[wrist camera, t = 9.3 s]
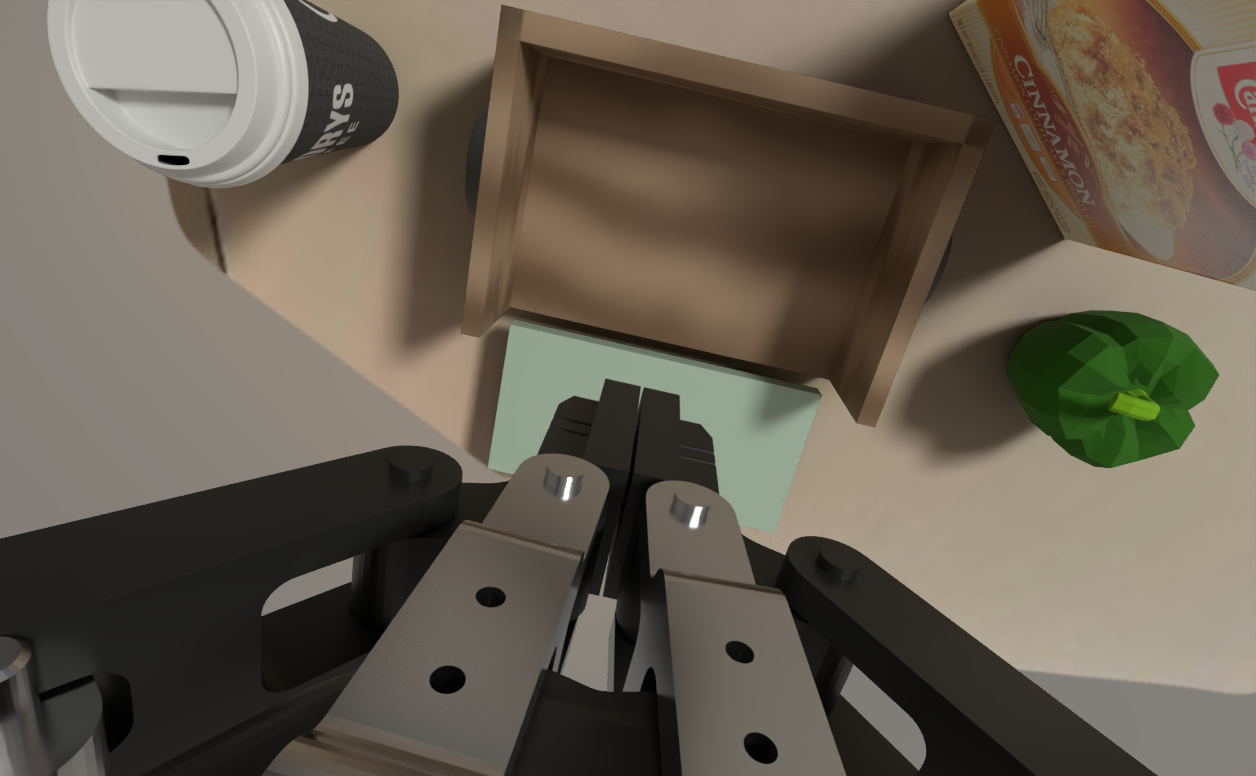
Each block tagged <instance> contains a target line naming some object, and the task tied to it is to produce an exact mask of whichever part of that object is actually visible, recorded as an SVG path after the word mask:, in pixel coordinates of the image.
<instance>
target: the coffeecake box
mask: <svg viewBox="0 0 1256 776" xmlns="http://www.w3.org/2000/svg"><path fill="white" fill-rule="evenodd" d="M949 17H950V19H951V21H952V23H953V25H954V27H955V29H956V31H957V32H958V34H959V36H960V38H961V40H962V42H963V44H964V46H965V48H966V50H967V52H968V54H969V56H970V58H971V60H972V62H973V64H974V66H975V68H976V70H977V72H978V74H979V76H980V77H981V79H982V81H983V83H984V85H985V87H986V89H987V91H988V93H989V95H990V97H991V99H992V101H993V103H994V104H995V106H996V108H997V110H998V112H999V114H1000V116H1001V118H1002V120H1003V122H1004V124H1005V126H1006V128H1007V130H1008V131H1009V133H1010V135H1011V137H1012V139H1013V141H1014V143H1015V145H1016V147H1017V149H1018V151H1019V152H1020V154H1021V156H1022V158H1023V160H1024V162H1025V164H1026V166H1027V168H1028V170H1029V171H1030V173H1031V175H1032V177H1033V179H1034V181H1035V183H1036V185H1037V187H1038V189H1039V191H1040V193H1041V195H1042V197H1043V199H1044V200H1045V202H1046V204H1047V206H1048V208H1049V210H1050V212H1051V214H1052V216H1053V217H1054V219H1055V221H1056V223H1057V225H1058V227H1059V229H1060V231H1061V233H1062V234H1063V236H1064V238H1065V239H1066V240H1072V241H1076V242H1079V243H1083V244H1086V245H1090V246H1094V247H1098V248H1101V249H1105V250H1109V251H1112V252H1116V253H1120V254H1124V255H1127V256H1131V257H1135V258H1138V259H1142V260H1145V261H1149V262H1152V263H1156V264H1160V265H1163V266H1167V267H1171V268H1174V269H1178V270H1182V271H1185V272H1189V273H1192V274H1196V275H1200V276H1203V277H1207V278H1211V279H1214V280H1218V281H1222V282H1226V283H1229V284H1233V285H1236V286H1240V287H1244V288H1247V289H1250V290H1254V291H1256V0H966V1H965V2H963V3H962V4H960V5H959V6H958V7H957V8H955V9H954V10H953V11H951V12H950V13H949Z"/></svg>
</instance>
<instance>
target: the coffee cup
mask: <svg viewBox="0 0 1256 776" xmlns="http://www.w3.org/2000/svg"><path fill="white" fill-rule="evenodd" d="M47 29H48V38H49V45H50V49H51V54H52V57H53V61H54V64H55V67H56V70H57V73H58V75H59V77H60V80H61V82H62V84H63V86H64V88H65V90H66V92H67V94H68V95H69V97H70V99H71V101H72V102H73V103H74V105H75V107H76V108H77V110H78V111H79V112H80V114H81V115H82V116H83V117H84V119H85V120H86V121H87V122H88V123H89V124H90V125H91V127H92V128H93V129H94V130H95V131H96V132H97V133H98V134H100V136H102V137H103V138H104V139H105V140H106V141H107V142H109V143H110V144H111V145H113V146H114V147H115V148H117V149H118V150H120V151H121V152H123V153H125V154H126V155H128V156H130V157H132V158H133V159H135V160H136V161H137V162H139V163H141V164H142V165H144V166H146V167H148V168H149V169H151V170H154V171H155V172H157V173H159V174H162V175H164V176H166V177H168V178H171V179H174V180H177V181H180V182H184V183H187V184H191V185H195V186H199V187H206V188H232V187H238V186H242V185H245V184H248V183H251V182H254V181H256V180H258V179H260V178H262V177H264V176H265V175H267V174H268V173H270V172H271V171H272V170H274V169H275V168H276V167H277V166H278V165H279V164H283V163H287V162H291V161H295V160H300V159H304V158H308V157H312V156H317V155H321V154H325V153H329V152H334V151H338V150H342V149H347V148H351V147H355V146H359V145H363V144H367V143H369V142H372V141H374V140H375V139H377V138H378V137H380V136H381V135H382V134H383V133H384V132H385V131H386V130H387V129H388V127H389V126H390V124H391V123H392V121H393V119H394V116H395V114H396V110H397V106H398V98H399V91H398V82H397V78H396V74H395V71H394V68H393V66H392V63H391V61H390V59H389V58H388V56H387V54H386V53H385V51H384V50H383V49H382V48H381V46H380V45H379V44H378V43H377V42H376V41H375V40H374V39H373V38H371V37H370V36H369V35H367V34H366V33H364V32H363V31H361V30H359V29H358V28H356V27H354V26H352V25H350V24H349V23H347V22H345V21H343V20H341V19H339V18H338V17H336V16H334V15H332V14H330V13H329V12H327V11H325V10H323V9H321V8H320V7H318V6H316V5H314V4H312V3H310V2H309V1H307V0H49V2H48V11H47Z"/></svg>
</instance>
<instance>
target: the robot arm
mask: <svg viewBox="0 0 1256 776" xmlns="http://www.w3.org/2000/svg"><path fill="white" fill-rule="evenodd" d="M640 390H641V386H637V385H633V384H628V383H624V382H619V381H615V380H611V379H605V382H604V385H603V389H602V392H601V396H600V399H599V401H595V400H591V399H587V398H582V397H578V396H572V397H571V398H569V399H567V400H565V401H563V402H561V403H559V405H558V407H557V410H556V412H555V414H554V417H553V419H552V421H551V423H550V426H549V428H548V430H547V433H546V435H545V437H544V440H543V442H542V444H541V447H540V449H539V451H538V454H537V455H536V456H532V457H530V458H528V459H526V460H524V461H523V462H522V463H521V464H520V465H519V467H518V468H517V470H516V471H515V473H514V474H513V476H512V478H511V479H510V481H506V482H500V483H462V469H461V466H460V465H459V463H458V462H457V461H456V460H455V459H453V458H452V457H450V456H449V455H447V454H445V453H443V452H440V451H438V450H434V449H430V448H427V447H420V446H393V447H388V448H383V449H379V450H375V451H371V452H366V453H362V454H357V455H353V456H349V457H345V458H340V459H336V460H332V461H328V462H324V463H319V464H315V465H311V466H307V467H302V468H298V469H294V470H290V471H286V472H281V473H277V474H273V475H269V476H264V477H260V478H256V479H251V480H247V481H243V482H239V483H234V484H230V485H226V486H222V487H217V488H214V489H209V490H205V491H201V492H196V493H192V494H188V495H184V496H179V497H175V498H171V499H167V500H162V501H158V502H154V503H150V504H146V505H141V506H137V507H133V508H128V509H124V510H120V511H116V512H111V513H108V514H103V515H99V516H94V517H91V518H86V519H82V520H77V521H73V522H69V523H65V524H61V525H57V526H53V527H48V528H44V529H40V530H35V531H31V532H27V533H23V534H18V535H14V536H10V537H5V538H1V539H0V776H1157V775H1156V774H1155V773H1153V772H1152V771H1151V770H1149V769H1148V768H1147V767H1145V766H1144V765H1142V764H1141V763H1140V762H1139V761H1137V760H1136V759H1135V758H1133V757H1132V756H1131V755H1129V754H1128V753H1127V752H1125V751H1124V750H1123V749H1121V748H1120V747H1119V746H1117V745H1116V744H1115V743H1113V742H1112V741H1111V740H1109V739H1108V738H1107V737H1105V736H1104V735H1103V734H1102V733H1100V732H1099V731H1098V730H1096V729H1095V728H1094V727H1092V726H1091V725H1090V724H1088V723H1087V722H1085V721H1084V720H1083V719H1082V718H1080V717H1079V716H1078V715H1076V714H1075V713H1074V712H1072V711H1071V710H1070V709H1068V708H1067V707H1066V706H1064V705H1063V704H1062V703H1060V702H1059V701H1058V700H1056V699H1055V698H1053V697H1052V696H1051V695H1050V694H1048V693H1047V692H1046V691H1044V690H1043V689H1042V688H1040V687H1039V686H1038V685H1036V684H1035V683H1034V682H1032V681H1031V680H1030V679H1028V678H1027V677H1026V676H1024V675H1023V674H1022V673H1020V672H1019V671H1018V670H1016V669H1015V668H1014V667H1012V666H1011V665H1010V664H1008V663H1007V662H1006V661H1004V660H1003V659H1002V658H1000V657H999V656H998V655H996V654H995V653H994V652H992V651H991V650H990V649H988V648H987V647H986V646H985V645H983V644H982V643H981V642H979V641H978V640H977V639H975V638H974V637H973V636H971V635H970V634H969V633H967V632H966V631H965V630H963V629H962V628H961V627H959V626H958V625H957V624H955V623H954V622H953V621H951V620H950V619H949V618H947V617H946V616H945V615H943V614H942V613H941V612H939V611H938V610H937V609H935V608H934V607H933V606H931V605H930V604H929V603H927V602H926V601H925V600H923V599H922V598H921V597H919V596H918V595H917V594H915V593H914V592H913V591H911V590H910V589H909V588H907V587H906V586H905V585H903V584H902V583H901V582H899V581H898V580H897V579H895V578H894V577H893V576H891V575H890V574H889V573H887V572H886V571H885V570H883V569H882V568H881V567H879V566H878V565H877V564H875V563H874V562H873V561H871V560H870V559H869V558H867V557H866V556H865V555H863V554H862V553H860V552H859V551H857V550H855V549H853V548H852V547H850V546H847V545H845V544H843V543H840V542H838V541H835V540H832V539H828V538H823V537H816V536H805V537H800V538H798V539H795V540H794V541H793V542H791V544H790V545H789V547H788V550H787V553H786V555H783V554H781V553H779V552H776V551H774V550H772V549H769V548H767V547H765V546H762V545H760V544H758V543H756V542H754V541H752V540H750V539H749V538H747V537H745V536H744V535H742V534H741V531H740V527H739V524H738V520H737V517H736V513H735V511H734V509H733V507H732V506H731V505H730V503H729V502H728V501H727V500H725V499H724V498H723V497H722V496H720V495H719V487H718V478H717V470H716V466H715V463H716V462H715V454H714V446H713V438H712V437H711V436H710V435H709V433H708V432H707V431H706V430H705V429H704V427H703V426H702V425H701V424H698V423H693V422H689V421H684V420H680V395H677V394H673V393H668V392H664V391H659V390H655V389H651V388H646V387H644V388H643V392H642V395H641V399H640V403H639V398H640ZM638 405H639V407H638ZM609 552H610V554H609ZM608 556H609V561H608ZM351 557H354V558H353V571H352V582H350V583H347V584H344V585H342V586H339V587H337V588H334V589H331V590H329V591H326V592H323V593H321V594H318V595H316V596H313V597H310V598H308V599H305V600H303V601H300V602H297V603H295V604H292V605H290V606H287V607H284V608H282V609H279V610H277V611H274V612H271V613H269V614H266V615H264V616H261V613H262V608H263V605H264V604H265V601H266V600H267V598H268V597H269V596H270V595H271V594H272V592H273V591H274V590H276V589H277V588H278V587H279V586H280V585H282V584H283V583H285V582H287V581H288V580H290V579H292V578H295V577H298V576H301V575H303V574H306V573H309V572H312V571H314V570H317V569H320V568H323V567H326V566H329V565H331V564H334V563H337V562H340V561H343V560H346V559H349V558H351ZM607 561H608V567H607V574H606V580H605V587H604V593H603V596H604V597H608V598H613V599H617V605H616V611H615V614H614V619H613V622H612V626H611V630H610V634H609V641H608V642H609V643H608V644H609V645H608V675H607V677H608V679H607V691H599V690H595V689H592V688H590V687H588V686H585V685H583V684H581V683H579V682H576V681H574V680H572V679H570V678H568V677H565V676H563V675H562V673H563V670H564V666H565V663H566V660H567V656H568V653H569V650H570V647H571V644H572V641H573V637H574V634H575V631H576V626H577V622H578V618H579V615H580V614H581V613H582V612H583V610H584V609H585V606H586V603H587V599H588V594H594V595H599V593H600V589H601V584H602V581H603V577H604V573H605V569H606V564H607ZM853 664H854V665H855V666H856V667H857V668H858V669H859V670H860V671H862V672H863V673H864V674H865V675H866V676H867V677H868V678H869V679H870V680H872V682H874V683H875V684H876V685H877V686H878V687H879V688H880V689H881V690H882V691H883V692H885V693H886V694H887V695H888V696H889V697H890V698H891V699H892V700H893V701H894V702H896V703H897V704H898V705H899V706H900V707H901V708H902V709H903V710H904V711H905V712H906V713H907V714H909V716H910V717H912V718H913V720H914V721H915V722H916V723H917V725H918V727H919V729H920V730H921V732H922V734H923V737H924V740H925V744H926V759H925V761H924V763H923V765H922V767H921V769H920V770H917V769H916V768H915V767H914V766H913V765H912V764H911V763H910V762H909V761H908V760H907V759H906V758H905V757H904V756H903V755H902V754H901V753H900V752H899V751H898V750H897V749H896V748H895V747H894V746H893V745H892V744H891V743H890V742H889V741H888V740H887V739H886V738H884V736H883V735H881V734H880V733H879V732H878V731H877V730H876V729H875V728H874V727H873V726H872V725H871V724H870V723H869V722H868V721H867V720H866V719H865V718H864V717H863V716H862V715H861V714H860V713H859V712H858V711H857V710H856V709H855V708H854V707H853V706H852V705H851V704H850V703H849V702H848V701H847V700H846V699H845V698H844V697H842V696H841V695H840V693H841V691H842V689H843V686H844V684H845V682H846V680H847V678H848V675H849V673H850V671H851V669H852V667H853Z"/></svg>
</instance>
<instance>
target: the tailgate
mask: <svg viewBox="0 0 1256 776" xmlns="http://www.w3.org/2000/svg"><path fill="white" fill-rule="evenodd" d="M605 379H611V380H615V381H619V382H624V383H628V384H633V385H637V386H641V390H640V398H639V403H640V399H641V395H642V392H643V388H644V387H646V388H651V389H655V390H659V391H664V392H668V393H673V394H677V395H680V420H684V421H689V422H693V423H698V424H701V425H702V426H703V427H704V429H705V430H706V431H707V432H708V433H709V435H710V436H711V437H712V438H713V446H714V454H715V462H716V463H715V466H716V470H717V478H718V487H719V495H720V496H722V497H723V498H724V499H725V500H727V501H728V502H729V503H730V505H731V506H732V507H733V509H734V511H735V513H736V517H737V520H738V524H739V525H741V526H745V527H750V528H754V529H759V530H763V531H768V532H772V533H775V530H776V527H777V524H778V521H779V518H780V515H781V512H782V509H783V506H784V504H785V501H786V498H787V495H788V492H789V489H790V486H791V483H792V480H793V477H794V474H795V472H796V469H797V466H798V463H799V460H800V457H801V454H802V451H803V448H804V445H805V442H806V439H807V437H808V434H809V431H810V428H811V425H812V422H813V419H814V416H815V413H816V410H817V407H818V405H819V402H820V399H821V396H822V395H821V393H820V392H819V390H818V389H817V388H813V387H809V386H804V385H800V384H795V383H791V382H787V381H782V380H778V379H773V378H769V377H765V376H760V375H756V374H751V373H747V372H743V371H738V370H734V369H729V368H725V367H721V366H716V365H712V364H707V363H703V362H699V361H694V360H690V359H685V358H681V357H677V356H672V355H668V354H663V353H659V352H655V351H650V350H646V349H641V348H637V347H633V346H628V345H624V344H619V343H615V342H611V341H606V340H602V339H597V338H593V337H589V336H584V335H580V334H575V333H571V332H567V331H562V330H558V329H553V328H549V327H544V326H540V325H536V324H531V323H527V322H522V321H518V320H514V321H513V322H512V323H511V324H510V330H509V337H508V343H507V349H506V356H505V362H504V368H503V375H502V381H501V387H500V394H499V400H498V406H497V412H496V419H495V425H494V431H493V438H492V444H491V450H490V457H489V463H488V469H491V470H495V471H500V472H504V473H509V474H514V473H515V471H516V470H517V468H518V467H519V465H520V464H521V463H522V462H523V461H524V460H526V459H528V458H530V457H532V456H536V455H537V454H538V451H539V449H540V447H541V444H542V442H543V440H544V437H545V435H546V433H547V430H548V428H549V426H550V423H551V421H552V419H553V417H554V414H555V412H556V410H557V407H558V405H559V403H561V402H563V401H565V400H567V399H569V398H571V397H572V396H578V397H582V398H587V399H591V400H595V401H599V399H600V396H601V392H602V389H603V385H604V382H605ZM638 407H639V405H638Z"/></svg>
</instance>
